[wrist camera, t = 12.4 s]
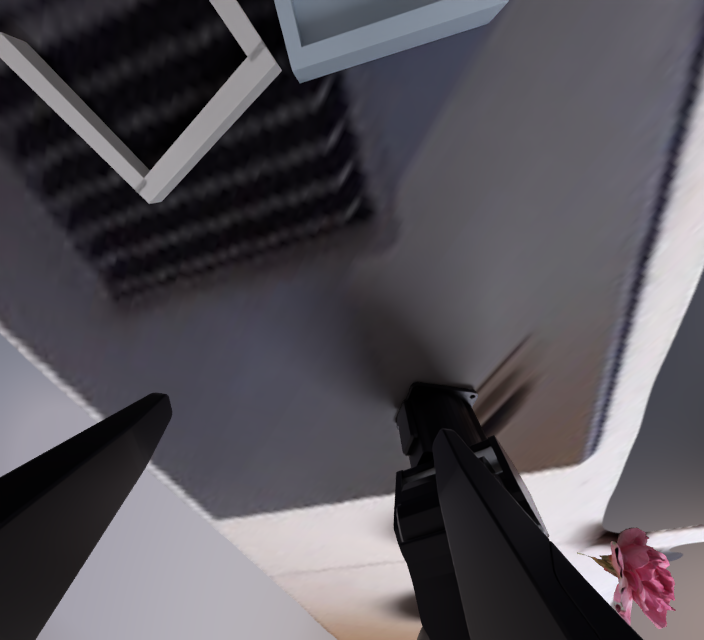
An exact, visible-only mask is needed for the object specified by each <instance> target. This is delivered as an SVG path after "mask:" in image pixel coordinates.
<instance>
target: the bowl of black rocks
mask: <svg viewBox="0 0 704 640" xmlns="http://www.w3.org/2000/svg"><path fill="white" fill-rule="evenodd" d="M417 640H430V639H429V637H428V635H427V633H426V632H425V630H424V628H423V627H422V628H421V630H420V633H419V635H418V638H417Z"/></svg>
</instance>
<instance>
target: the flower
mask: <svg viewBox="0 0 704 640" xmlns="http://www.w3.org/2000/svg"><path fill="white" fill-rule="evenodd" d="M647 539H650V538H649V537H647V536H646V533H645V532H644V531H642V530H640V529H639V528H629V529H626V530H624V531H622V532H621V533H620V534H619V536H618V540H617V544H616V542H614V541H611V543H610V544H611V551H612V555H608V556H606V555H603V556H600V557H602V560H601V559H597V558H595V557H591V558H592V559H594V560H595V561H596V562H597V563H598V564H599V565H600V566H602V567H603V568H604V570H605V571H608V572H609V573H611V574H612V575H614V576H616V577H618V579H619V584H618V585H617V587H616V590H615V592H614V606H615V608H616V610H617V612H618V614H619V615H620V616H621V617H622V618H623V619H624V620H625V621H626V622H627V623H628V624H629V625H630V622H631V620H630V612H631V608H632V601H633V600H634V601H635V602H636V603H637V604H638V605H639V606H640V608H641V609H642V611H643V612H644V614H645V615H646V616H647V617H648V618H649V619H650V620H651V621H652V622H653V623H654V625H655V626H656V627H657V628H658V629H661V628H663V627H666V626H667V622H666V613H667V610H674V611H675V609H673V608H672V607H671V606H670V605H669V604H670V600H671V599H672V600H675V598H674V587H673V586H674V585H675V583H674V579H673V578H672V577H671V574H670V572H669V571H668V570H666V569H665V568H667V567H668V566H669V565H670V564H669V561H668V560H667V558H666V556H665V555H664V554H662V553H660V552H658V551H656V550H654V549H653V547H650V546H647V545H646V543H647ZM577 554H581V553H577ZM582 555H584V554H582ZM586 556H587V555H586ZM589 557H590V556H589Z"/></svg>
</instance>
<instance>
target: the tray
mask: <svg viewBox="0 0 704 640" xmlns="http://www.w3.org/2000/svg"><path fill="white" fill-rule="evenodd" d="M508 1H509V0H274V2H275V6H276V10H277V14H278V18H279V21H280V25H281V29H282V33H283V37H284V41H285V45H286V49H287V52H288V56H289V60H290V64H291V68H292V72H293V73H294V75H295V76H296V78H297V80H298V81H299V83H303V82H306V81H309V80H312V79H315V78H318V77H322V76H325V75H328V74H331V73H334V72H337V71H340V70H344V69H347V68H350V67H353V66H356V65H359V64H363V63H366V62H369V61H372V60H375V59H378V58H382V57H385V56H388V55H391V54H394V53H397V52H400V51H404V50H407V49H410V48H413V47H416V46H419V45H423V44H426V43H429V42H432V41H435V40H438V39H442V38H445V37H448V36H451V35H454V34H457V33H460V32H464V31H467V30H470V29H473V28H476V27H479V26H483V25H486V24H488V23H489V22H490V21H491V20H492V19H493V18H494V17H495V16H496V15H497V14H498V12H499V11H500V10H501V9H502V8H503V7H504V6H505V5H506V4H507V3H508Z"/></svg>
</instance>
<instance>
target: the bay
mask: <svg viewBox="0 0 704 640" xmlns="http://www.w3.org/2000/svg"><path fill="white" fill-rule="evenodd" d="M209 1H210V2H211V4H212V5H213V6H214V8H215V9H216V11H217V12H218V14H219V15H220V17H221V18H222V20H223V21H224V23H225V24H226V26H227V27H228V29H229V30H230V32H231V33H232V34H233V36H234V37H235V39H236V40H237V42H238V43H239V45H240V46H241V48H242V49H243V51H244V52H245V54H246V55H247V58H246V59H245V60H244V61H243V63H242V64H241V65H240V66H239V67H238V69H237V70H236V71H235V72H234V73H233V74H232V76H231V77H230V78H229V79H228V80H227V81H226V83H225V84H224V85H223V86H222V87H221V88H220V90H219V91H218V92H217V93H216V94H215V95H214V97H213V98H212V99H211V100H210V101H209V103H208V104H207V105H206V106H205V107H204V108H203V110H202V111H201V112H200V113H199V114H198V115H197V117H196V118H195V119H194V120H193V121H192V122H191V124H190V125H189V126H188V127H187V128H186V129H185V131H184V132H183V133H182V134H181V135H180V137H179V138H178V139H177V140H176V141H175V142H174V144H173V145H172V146H171V147H170V148H169V149H168V151H167V152H166V153H165V154H164V155H163V156H162V158H161V159H160V160H159V161H158V162H157V163H156V165H155V166H154V167H153V168H152V169H151V170H149V169H148V168H147V167H146V166H145V165H144V164H143V163H142V162H141V161H140V160H139V159H138V158H137V157H136V156H135V155H134V153H133V152H132V151H131V150H130V149H129V148H128V147H127V146H126V145H125V144H124V143H123V142H122V141H121V140H120V139H119V138H118V137H117V136H116V135H115V134H114V133H113V132H112V131H111V130H110V129H109V127H108V126H107V125H106V124H105V123H104V122H103V121H102V120H101V119H100V118H99V117H98V116H97V115H96V114H95V113H94V112H93V111H92V110H91V109H90V108H89V107H88V106H87V105H86V104H85V103H84V102H83V100H82V99H81V98H80V97H79V96H78V95H77V94H76V93H75V92H74V91H73V90H72V89H71V88H70V87H69V86H68V85H67V84H66V83H65V82H64V81H63V80H62V79H61V78H60V77H59V76H58V75H57V73H56V72H55V71H54V70H53V69H52V68H51V67H50V66H49V65H48V64H47V63H46V62H45V61H44V60H43V59H42V58H41V57H40V56H39V55H38V54H37V53H36V52H35V51H34V50H33V49H32V48H31V46H30V45H29V44H28V43H27V42H25V41H22V40H20V39H17V38H15V37H12V36H9V35H7V34H4V33H2V32H0V58H1V59H2V60H3V61H4V62H5V63H6V64H7V65H8V66H9V67H10V68H11V69H12V70H13V71H14V72H15V73H16V74H17V75H19V76H20V77H21V78H22V79H23V80H24V81H25V82H26V83H27V84H28V85H29V86H30V87H31V88H32V89H33V90H34V91H35V92H36V93H37V94H38V95H39V96H40V97H41V98H42V99H43V100H44V101H45V102H46V103H47V104H48V105H49V106H50V107H51V108H52V109H53V110H54V111H55V112H56V113H57V114H58V115H59V116H60V117H61V118H62V119H63V120H64V121H65V122H66V123H67V124H68V125H69V126H70V127H71V128H73V129H74V130H75V131H76V132H77V133H78V134H79V135H80V136H81V137H82V138H83V139H84V140H85V141H86V142H87V143H88V144H89V145H90V146H91V147H92V148H93V149H94V150H95V151H96V152H97V153H98V154H99V155H100V156H101V157H102V158H103V159H104V160H105V161H106V162H107V163H108V164H109V165H110V166H111V167H112V168H113V169H114V170H115V171H116V172H117V173H118V174H119V175H120V176H121V177H122V178H123V179H124V180H125V181H126V182H128V183H129V184H130V185H131V186H132V187H133V188H134V189H135V190H136V191H137V192H138V193H139V194H140V195H141V196H142V197H143V198H144V199H145V200H146V201H147V202H148V203H149V204H151V203H157V202H162V201H163V200H164V198H165V197H166V196H167V195H168V194H169V193H170V192H171V191H172V190H173V189H174V188H175V187H176V185H177V184H178V183H179V182H180V181H181V180H182V179H183V178H184V177H185V176H186V175H187V173H188V172H189V171H190V170H191V169H192V168H193V167H194V166H195V165H196V164H197V163H198V162H199V160H200V159H201V158H202V157H203V156H204V155H205V154H206V153H207V152H208V151H209V150H210V148H211V147H212V146H213V145H214V144H215V143H216V142H217V141H218V140H219V139H220V138H221V136H222V135H223V134H224V133H225V132H226V131H227V130H228V129H229V128H230V127H231V126H232V125H233V123H234V122H235V121H236V120H237V119H238V118H239V117H240V116H241V115H242V114H243V113H244V111H245V110H246V109H247V108H248V107H249V106H250V105H251V104H252V103H253V102H254V101H255V100H256V98H257V97H258V96H259V95H260V94H261V93H262V92H263V91H264V90H265V89H266V88H267V86H268V85H269V84H270V83H271V82H272V81H273V80H274V79H275V78H276V77H277V76H278V74H279V73H280V72H281V71H282V70H281V68H280V67H279V65H278V64H277V62H276V60H275V59H274V57H273V56H272V54H271V53H270V51H269V50H268V48H267V46H266V45H265V43H264V42H263V40H262V39H261V37H260V36H259V34H258V32H257V31H256V29H255V28H254V26H253V25H252V23H251V22H250V20H249V18H248V17H247V15H246V14H245V12H244V11H243V9H242V8H241V6H240V4H239V3H238V1H237V0H209Z"/></svg>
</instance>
